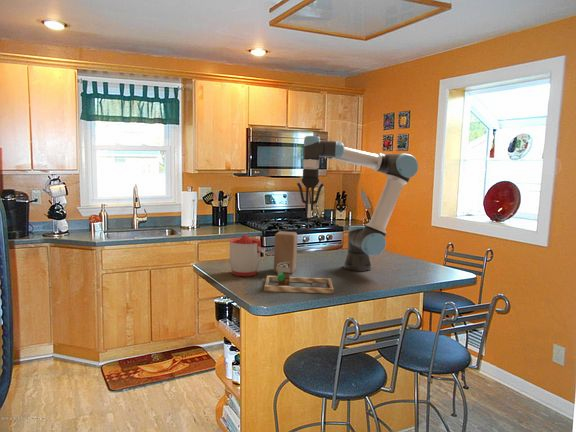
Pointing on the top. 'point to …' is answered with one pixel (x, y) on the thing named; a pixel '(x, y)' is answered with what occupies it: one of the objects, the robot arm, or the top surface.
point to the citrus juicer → (245, 255)
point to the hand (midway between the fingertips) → (308, 217)
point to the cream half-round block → (283, 273)
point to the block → (285, 249)
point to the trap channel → (317, 287)
